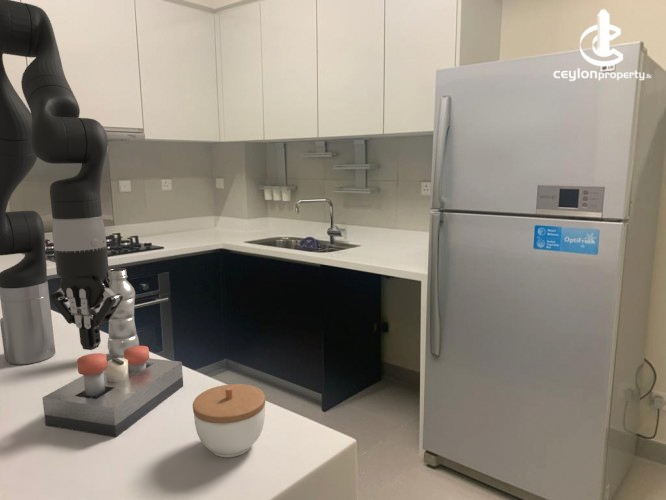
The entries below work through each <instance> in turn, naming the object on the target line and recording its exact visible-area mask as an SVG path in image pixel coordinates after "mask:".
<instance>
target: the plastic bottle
mask: <svg viewBox="0 0 666 500" xmlns="http://www.w3.org/2000/svg"><path fill="white" fill-rule="evenodd" d="M107 274H108V276H107V280H109V281H108V282H109V284H110V288H109V289H110V290H111V291H113V292H114V293H115V294H122V296H123V299H122V301H121V302H120V304H119V306H118V307H117V309H116V310H115V312H114V314H113V315H112V317H111V318H110V320H109V321H108V339H107V349H108V353H109V355H111V357H112V358H116V357H118V356H120V355H124V350H125V349H127V348H130V347H134V346H140V341H139V340H140V339H139V337H138V334H137V329H136V323H135V300H136V291H135V288H134V287H133V285H132V284H131V283H130V282H129V281H128V280H127V278H128V275H127V269H126V268H112V269H109V270H108V272H107Z"/></svg>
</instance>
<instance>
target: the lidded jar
mask: <svg viewBox="0 0 666 500" xmlns="http://www.w3.org/2000/svg"><path fill="white" fill-rule="evenodd" d="M265 404H266V396H265V393H264V392H263V390H261V389H260V388H259V387H257V386H253V385H250V384H244V383H230V384H229V383H228V384H222V385H218V386H214V387H211V388H209V389H207V390H205V391H202V392H201V393H199V394H198V395H197V396H196V397H195V398H194V400H193V402H192V410H193V411H192V412H193V418H194V425H195V431H196V434H197V436H198V438H199V440H200V441H201V444H203V446H205V448H207V450H209V451H211V453H212V454H213V455H215V456H217V457H220V458H235V457H236V458H237V457H239V456H241V455H243V454H246V453H247V452H248V451H249V450H250V449H251V448H252V446H253V445H254V444H255V443H256V441H258V439H259V437H260V436H261V434H262V432H263V427H264V423H265V416H266V411H265V410H266V408H265V407H266V405H265Z"/></svg>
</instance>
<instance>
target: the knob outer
mask: <svg viewBox="0 0 666 500" xmlns="http://www.w3.org/2000/svg"><path fill="white" fill-rule="evenodd" d="M76 360H77V362H76V365H77V372H78V374H80V375H82V376H84V386H85V394H86V395H87V396H95V395H99V394H101V393H103V392H104V391H105V385H104V375H103V371H104V370H106V369H107V361H108V360H107V354H105V353H101V352H100V353H99V352H95V353H88V354H86V355H82V356H80V357H79V358H77V359H76Z"/></svg>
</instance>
